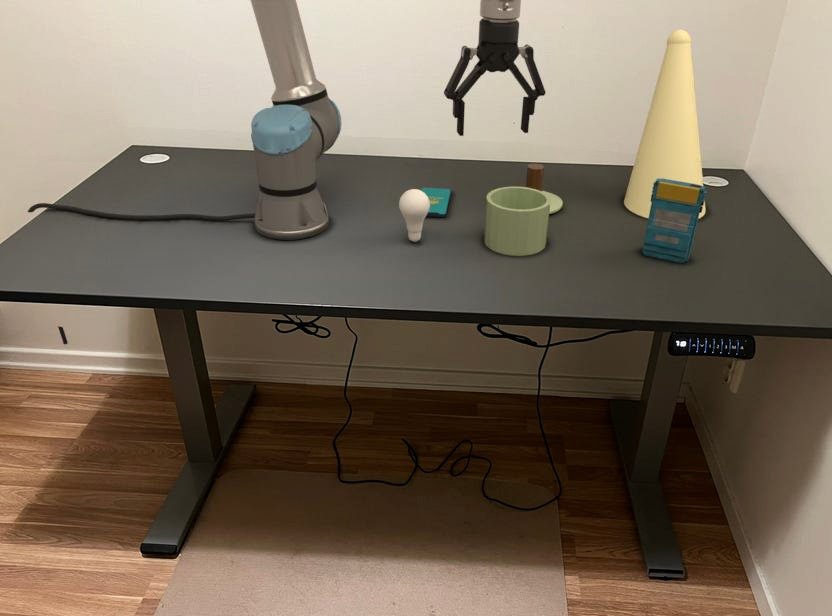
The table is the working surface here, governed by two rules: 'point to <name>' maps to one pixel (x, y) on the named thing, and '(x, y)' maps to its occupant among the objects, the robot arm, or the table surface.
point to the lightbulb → (414, 211)
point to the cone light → (668, 130)
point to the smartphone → (437, 201)
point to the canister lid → (535, 182)
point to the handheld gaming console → (673, 219)
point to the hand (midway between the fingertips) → (492, 132)
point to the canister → (516, 220)
